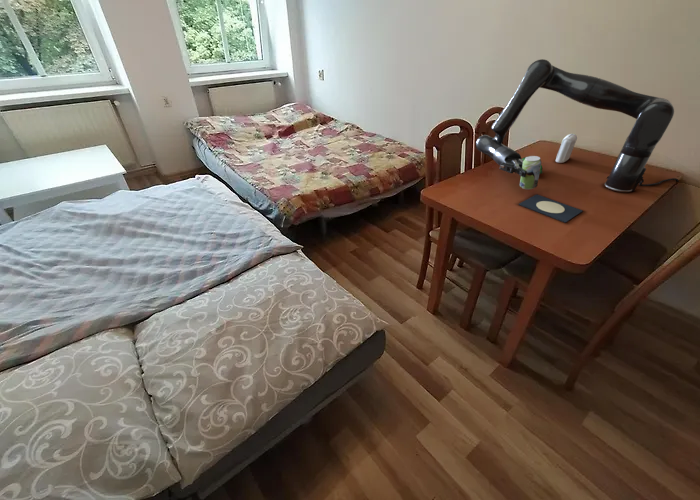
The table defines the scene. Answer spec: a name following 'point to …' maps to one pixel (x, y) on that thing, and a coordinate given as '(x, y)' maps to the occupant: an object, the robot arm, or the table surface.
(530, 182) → the beverage can
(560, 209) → the mat
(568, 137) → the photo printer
